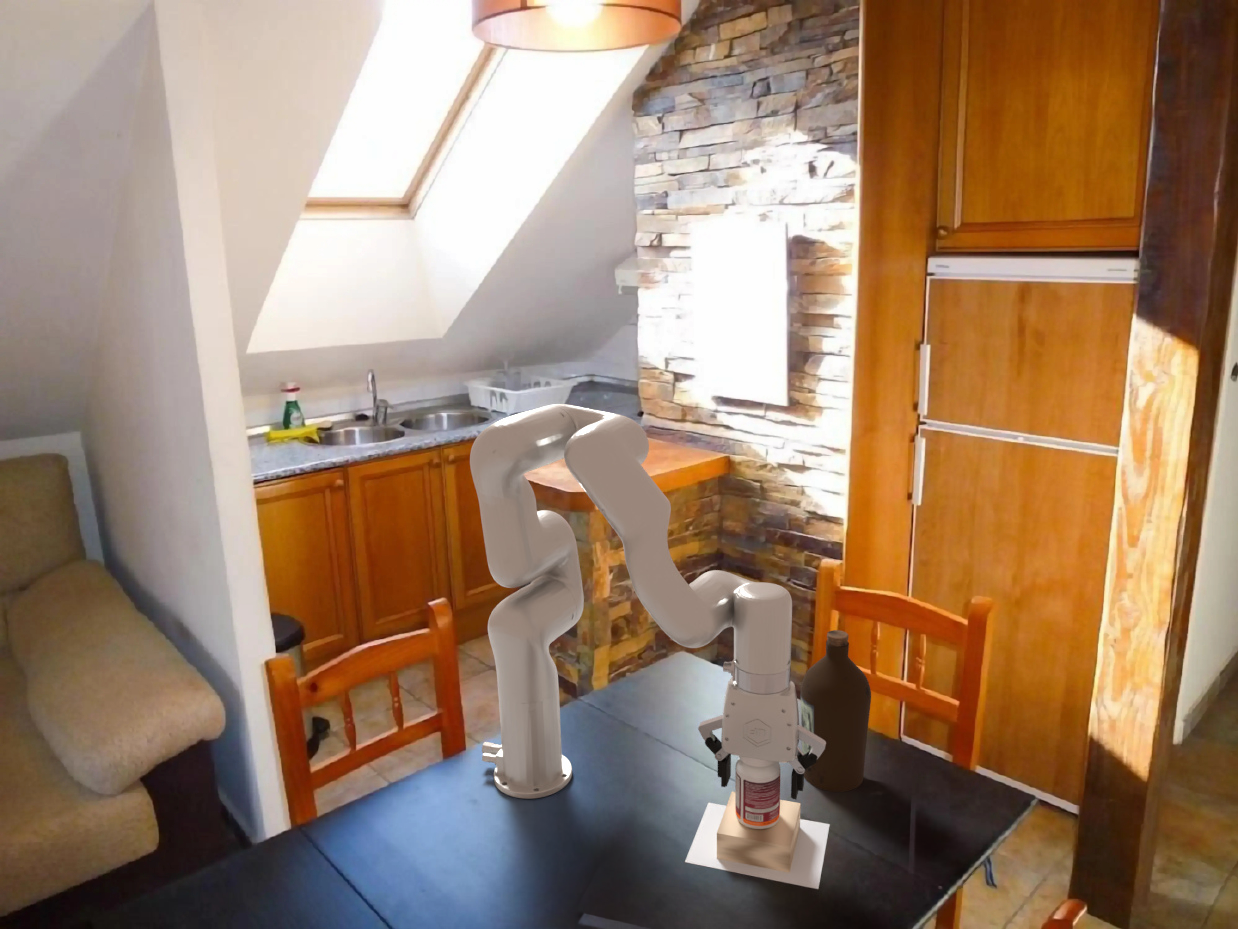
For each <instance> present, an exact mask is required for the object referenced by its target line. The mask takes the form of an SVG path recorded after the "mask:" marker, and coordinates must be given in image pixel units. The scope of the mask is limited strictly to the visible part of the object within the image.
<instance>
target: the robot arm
mask: <svg viewBox="0 0 1238 929" xmlns="http://www.w3.org/2000/svg"><path fill="white" fill-rule="evenodd" d="M649 452H650V443H649V439H648V435H647V433H646V432H645V430H644V428H642V426H641V425H640V424H639V423H638V422H636V421H635V420H634V419H632V418H630V417H628V416H625V415H622V414H618V413H613V412H609V411H604V410H603V411H602V410H599V409H592V408H589V407H582V406H579V405H578V406H577V405H572V404H565V403H556V404H555V403H554V404H548V405H544V406H541V407H538V408H533V409H530V410H526V411H523V412H519V413H516V414H513V415H510V416H507V417H504V418H502V419H500V420H498V421H495V422H494V423H492V424H490V425H488V426H487V427H486V428H484V429H483V430H482V431H481V432H480V433H479V434H478V435H477V436H476V438H475V440H474V441H473V444H472V446H471V449H470V454H469V466H470V473H471V476H472V481H473V484H474V489H475V490H476V491H475V492H476V494H477V499H478V505H479V512H480V519H481V521H480V522H481V527H482V533H483V534H482V535H483V540H484V541H483V543H484V548H485V555H486V561H487V565H488V570H489V572H490V575H491V576H492V578H493V580H494V581H495V583H497V584H498V585H500V586H501V587H503V588H509V589H514V588H520V587H522V586H524V585H525V586H524V587H522V588H520V589H519V590H517V591H515V592H513V593H511V594H510V595H508V596H506V597H505V598H504V599H502V600H501V601H500V602H499V603H498V604H497V605H496V606H495V607H494V608H493V609H492V611H491V614H489V618H488V621H487V633H488V634H487V635H488V639H489V644H490V646H491V650H492V654H493V658H494V663H495V670H496V671H495V672H496V682H497V695H498V709H499V724H500V741H501V743H500V744H497V743H494V742H488V741H484V742H483V744H482V747H481V753H482V756H481V761H482V762H485V763H493V764H495V765H496V766H495V768H494V770H493V771H494V772H493V780H494V781H493V782H494V784H495V786H496V788H497V789H498V790H499V791H500V792H501V793H504V794H505V795H507V796H510V797H513V798H517V799H518V798H519V799H525V800H526V799H530V800H531V799H538V798H544V797H548V796H551V795H553V794H555V793H557V792H559V791H561V790H563V789H564V788H565V787H566V786H567V785H568V784H569V783H570V782H571V779H572V776H573V766H572V764H571V761H570V760H569V759H568V758H567V757H566V756H565V755H563V753H562V735H561V734H562V733H561V732H562V731H561V710H560V688H559V687H560V686H559V676H558V669H557V666H556V664H555V661H554V660H553V658H552V657H551V654H550V651H549V648H550V644H551V643H552V642H555V640H557V639H558V638H559V637H560V636H561V635H563V634H565V633H566V632H568V631H569V630H570V629H572V628H573V627H574V626H575V625H576V624H577V623H578V622H579V620H580V619H581V617H582V615H583V611H584V603H585V602H584V591H583V582H582V573H581V568H580V558H579V551H578V544H577V540H576V536H575V534H574V531H573V529H572V527H571V525H570V523H568V521H567V520H566V519H565V518H564V517H563V516H562V515H561V514H559V513H557V512H555V511H553V510H549V509H548V510H547V509H543V510H537V499H536V495H535V492H534V489H533V487H532V485H531V484H530V482H529V480H528V479H527V478H526V476H525V474H527V473H529V472H532V471H534V470H537V469H540V468H543V467H544V466H545V467H546V466H548V465H550V464H553V463H556V462H558V461H560V460H564V462H565V465H566V467H567V468H566V469H568V471H569V473H570V474H571V476H572V477H573V478H574V480H576V482H577V483H578V484H579V486H580V487H581V489H582V490H583V491H584V492H585V493H586V495H587V496H588V498H589V499H590V500H591V501H592V503H593V504H594V505H595V507H596V508H597V509H598V511H599V512H600V513H601V514H602V515H603V517H604V518H605V520H606V521H607V523H608V524H609V525H610V526H611V528H612V529H613V530H614V532H615V533H616V534H617V536H618V537H619V539H620V541H621V543H622V547H623V548H622V549H623V552H624V553H623V554H624V561H625V564H626V568H627V571H628V574H629V578H630V581H631V586H632V587H633V591H634V592H635V595H636V596H637V597H638V599H639V601H640V603H641V604H642V606H643V607H644V609H645V610H646V611H647V612H648V613H649V615H650V616H651V618H652V619H653V620H654V621H655V623H656V624H657V625H658V626H659V628H660V629H661V630H662V631H663V632H664V633H665V634H666V636H668V638H670V639H671V640H672V641H673V642H675V643H677V644H678V645H680V646H682V647H684V648H688V649H697V648H701V647H704V646H707V645H708V644H709V643H711V642H713V640H714V639H716V637H717V636H719V635H720V633H721V632H723V631H724V630H725V629H727V628H731V627H732V628H733V659H732V661H724V662H723V665H722V671H723V672H724V673H725V672H726V673H728V674H731V677H730V678H729V681H728V682H727V684H726V688H725V693H724V694H725V695H724V699H723V700H724V702H723V707H722V708H723V709H722V710H723V712H722V715H719V716H715V717H712V718H709V719H706V720H703V721H701V722H700V724H699V725H698V732H699V733H700V736H701V737H702V739H703V741H704V744H705V746H706V747H707V748H708V749H709V750H710V751H711V753H712V754H713V755H714V759H715V760H716V761H717V777H718V778H721V779H720V782H721V784H720V785H721V786H720V787H721V788H726V787H728V785H729V782H730V779H731V776H732V755H733V756H737V757H739V756H742V757H748V758H755V759H760V760H767V761H773V762H779V763H781V764H782V763H783V764H784V763H785V764H786V763H789V764H790V765H791V767H792V771H791V781H790V785H791V788H790V798H791V799H793V800H797V798H798V794H799V792H803V791H804V785H805V778H804V771H805V770H806V769H807V768H809V767H810V766H812V765H813V764H815V763H816V761H817V759H818V758H819V757H820V755H821V754H822V752H823V751H824V749H825V746H826V741H825V740H823V739H822V738H820V737H818V736H817V735H815V734H814V733H812V732H810V731H809V730H807V729H805V728H804V727H802V724H800V714H799V712H800V711H799V703H798V702H799V701H798V697H797V695H798V694H797V691H796V690H797V689H796V686H795V683H794V682H793V681H792V680H791V666H792V665H791V662H792V661H791V660H792V656H791V655H792V654H791V653H792V626H793V625H792V622H793V619H792V618H793V616H792V615H793V600H792V596H791V594H790V592H789V590H788V589H786V588H785V587H783V586H782V585H779V584H776V583H774V582H773V583H772V582H761V581H758V582H757V581H752V580H749V579H746V578H744V577H743V576H742V577H741V576H739V575H736V574H733V573H732V572H729V571H728V572H727V571H724V570H720V569H719V570H718V569H717V570H716V569H713V570H709V571H707V572H704V573H702V574H701V575H699V576H698V577H697V578H696V579H694V580H693V581H692V582H690V583H688V582H687V581H686V580H685V578H684V577H683V576H682V573H680V571H679V570H678V568H677V565H676V564H675V562H674V561H673V559H672V556H671V552H670V550H669V544H668V529H669V523H670V519H671V518H670V517H671V512H672V510H671V509H672V506H671V502H670V500H669V499H668V498H667V496H666V495H665V494H664V492H663V491H662V490H661V489H660V487H659V486H658V485H657V484H656V482H655V481H654V480H653V478H652V477H651V476H650V474H649V473H648V472H647V471H646V469H645V468H644V467H643V466H642V464H644V462H645V461H646V459H647V457H648V456H649V455H648V454H649ZM529 583H530V584H529ZM527 584H528V585H527ZM719 729H721V740H720V739H719V738H718V737H717V736H716V735H715V734H714V732H713V731H716V730H719ZM800 741H801V742H802V741H803V742H805V743H806V744H808V745H810V746H811V747H812V749H811V750H810V751H808V752H807V753H806V754H803V753H802V749H800V747H799V746H798V745H799V742H800Z"/></svg>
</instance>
